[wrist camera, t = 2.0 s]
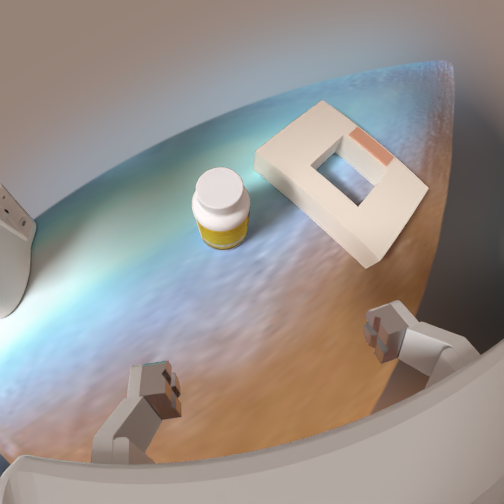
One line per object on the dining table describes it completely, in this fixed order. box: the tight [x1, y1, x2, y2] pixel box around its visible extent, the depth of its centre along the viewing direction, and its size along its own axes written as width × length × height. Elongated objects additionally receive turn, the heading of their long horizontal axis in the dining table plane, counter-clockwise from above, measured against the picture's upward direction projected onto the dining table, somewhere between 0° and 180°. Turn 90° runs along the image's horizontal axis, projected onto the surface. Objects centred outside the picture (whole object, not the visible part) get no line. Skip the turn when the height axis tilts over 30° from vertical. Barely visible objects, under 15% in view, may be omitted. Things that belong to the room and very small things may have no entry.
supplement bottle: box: [192, 167, 250, 251], centre depth 28 cm, size 5×5×10 cm
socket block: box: [254, 100, 429, 269], centre depth 33 cm, size 18×13×4 cm
